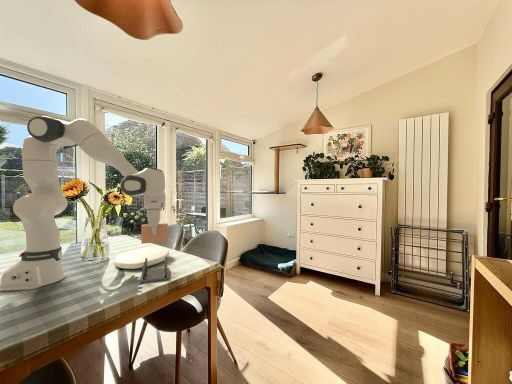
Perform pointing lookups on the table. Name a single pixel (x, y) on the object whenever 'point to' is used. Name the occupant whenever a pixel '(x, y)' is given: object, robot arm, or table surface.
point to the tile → (150, 238)
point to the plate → (141, 257)
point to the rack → (154, 273)
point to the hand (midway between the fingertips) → (154, 233)
